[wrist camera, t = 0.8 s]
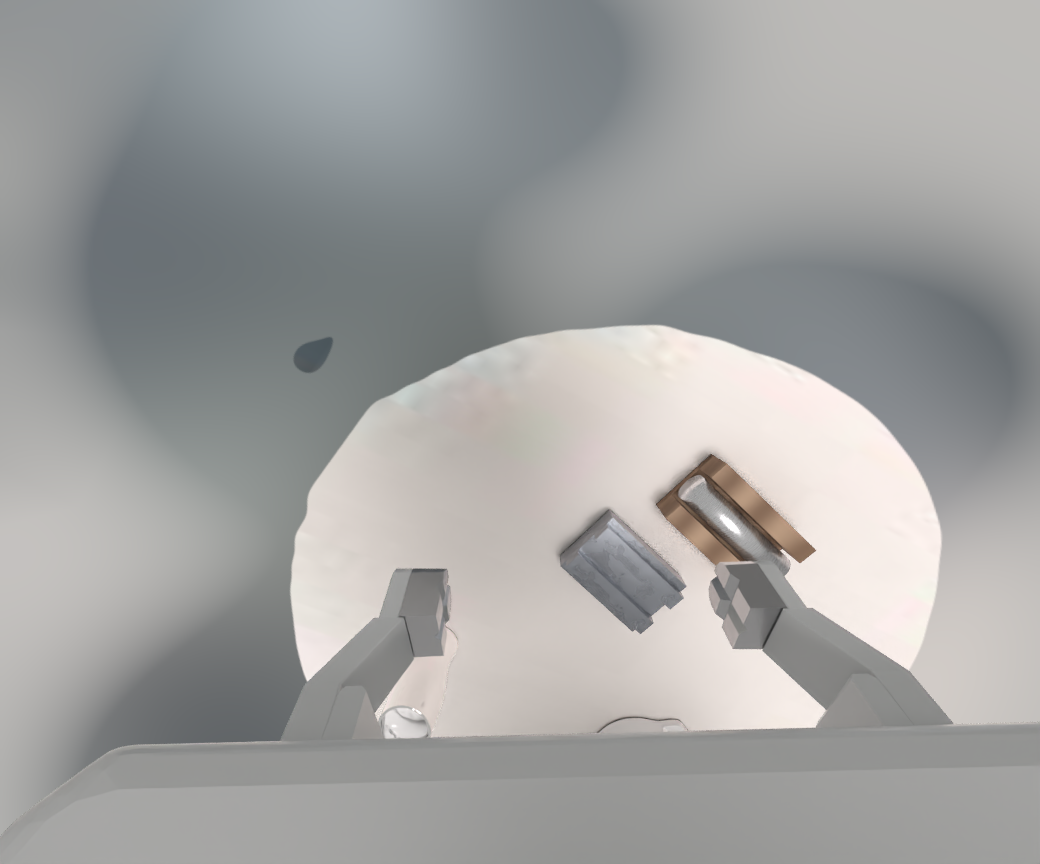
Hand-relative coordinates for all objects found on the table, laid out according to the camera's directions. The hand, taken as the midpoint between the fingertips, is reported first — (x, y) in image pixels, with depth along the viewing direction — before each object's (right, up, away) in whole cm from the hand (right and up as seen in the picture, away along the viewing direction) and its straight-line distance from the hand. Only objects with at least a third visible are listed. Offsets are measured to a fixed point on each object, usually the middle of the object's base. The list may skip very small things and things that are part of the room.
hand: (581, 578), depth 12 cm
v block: (+13, -15, +46) cm, 50 cm away
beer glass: (-14, -28, +51) cm, 60 cm away
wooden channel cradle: (+26, -8, +43) cm, 51 cm away
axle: (+26, -8, +42) cm, 50 cm away
